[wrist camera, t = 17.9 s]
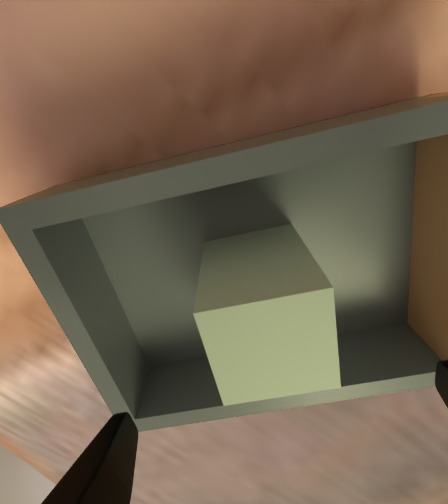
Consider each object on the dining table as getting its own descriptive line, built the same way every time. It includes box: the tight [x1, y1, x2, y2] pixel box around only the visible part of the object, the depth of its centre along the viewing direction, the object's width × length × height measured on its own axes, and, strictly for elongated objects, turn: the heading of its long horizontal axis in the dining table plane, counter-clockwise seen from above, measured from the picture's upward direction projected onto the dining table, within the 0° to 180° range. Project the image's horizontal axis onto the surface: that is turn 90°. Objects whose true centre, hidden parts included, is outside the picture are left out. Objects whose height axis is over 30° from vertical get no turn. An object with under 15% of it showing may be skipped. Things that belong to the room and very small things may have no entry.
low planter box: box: [0, 92, 448, 432], centre depth 14 cm, size 18×13×5 cm
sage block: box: [193, 224, 341, 406], centre depth 13 cm, size 4×4×6 cm
